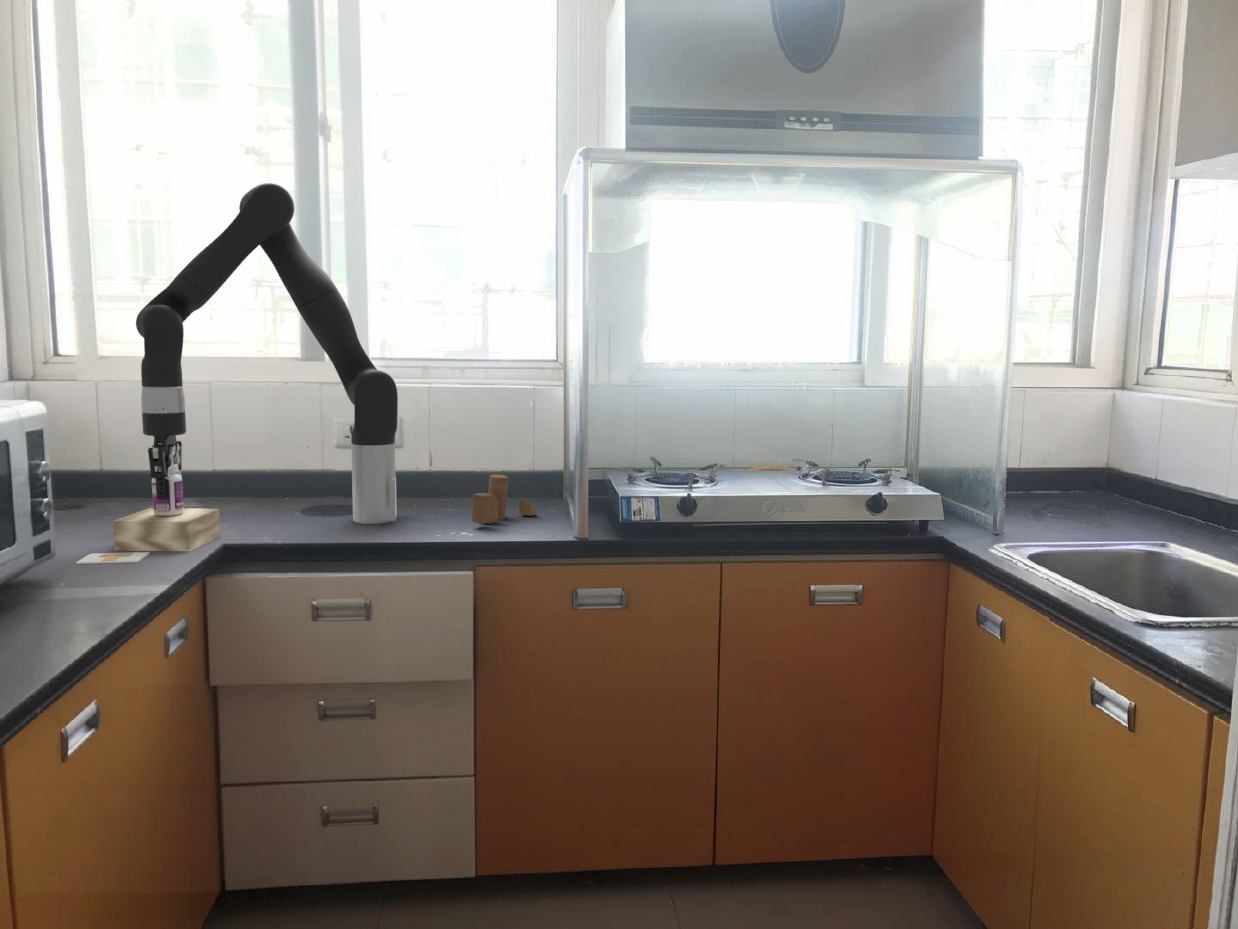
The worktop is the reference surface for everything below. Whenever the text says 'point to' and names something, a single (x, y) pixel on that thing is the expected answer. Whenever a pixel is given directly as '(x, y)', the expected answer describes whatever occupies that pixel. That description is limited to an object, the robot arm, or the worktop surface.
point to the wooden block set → (496, 502)
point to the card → (113, 558)
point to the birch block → (166, 530)
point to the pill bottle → (176, 496)
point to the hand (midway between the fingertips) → (168, 496)
